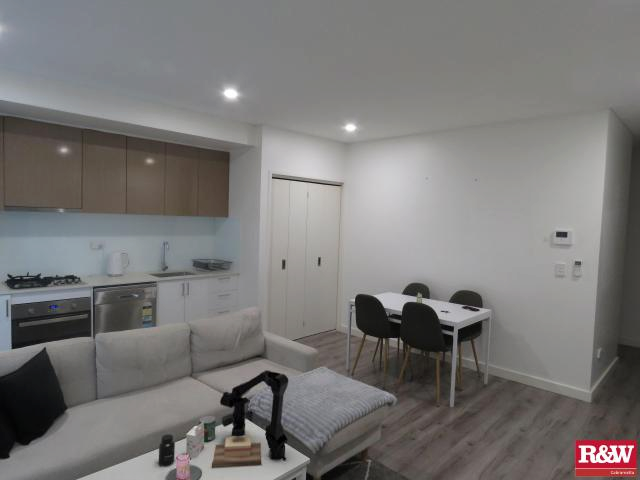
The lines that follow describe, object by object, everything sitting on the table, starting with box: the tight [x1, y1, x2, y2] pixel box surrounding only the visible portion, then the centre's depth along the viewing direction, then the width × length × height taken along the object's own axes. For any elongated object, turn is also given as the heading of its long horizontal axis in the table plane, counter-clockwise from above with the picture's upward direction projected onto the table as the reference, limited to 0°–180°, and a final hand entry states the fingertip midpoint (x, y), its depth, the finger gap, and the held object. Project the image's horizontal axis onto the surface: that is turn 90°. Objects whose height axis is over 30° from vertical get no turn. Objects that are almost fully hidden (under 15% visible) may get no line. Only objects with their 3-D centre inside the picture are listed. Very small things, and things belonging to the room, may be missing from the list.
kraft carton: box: [224, 435, 252, 457], centre depth 196 cm, size 9×12×5 cm
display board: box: [211, 442, 262, 469], centre depth 194 cm, size 19×22×3 cm
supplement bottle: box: [158, 434, 176, 467], centre depth 187 cm, size 7×7×12 cm
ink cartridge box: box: [186, 421, 205, 459], centre depth 194 cm, size 9×5×15 cm, turn 168°
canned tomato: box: [198, 415, 216, 443], centre depth 207 cm, size 8×8×11 cm
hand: (238, 440), depth 204 cm, fingers closed
